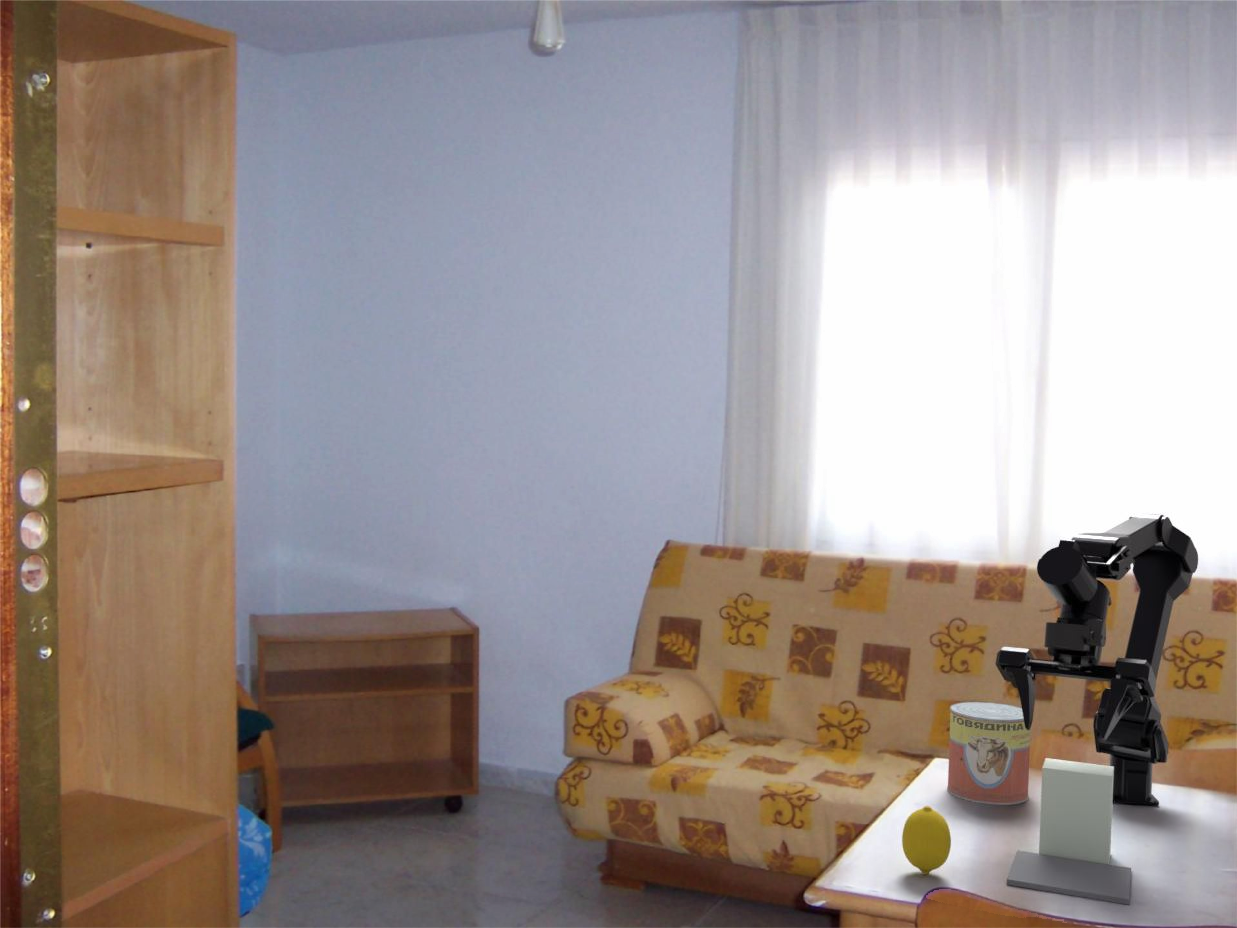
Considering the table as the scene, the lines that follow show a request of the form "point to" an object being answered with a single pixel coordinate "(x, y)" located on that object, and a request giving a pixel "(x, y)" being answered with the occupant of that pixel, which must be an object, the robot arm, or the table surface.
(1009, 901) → the table surface
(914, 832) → the lemon
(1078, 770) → the sage block
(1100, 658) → the robot arm
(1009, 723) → the canned food
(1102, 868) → the mat
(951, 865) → the table surface
